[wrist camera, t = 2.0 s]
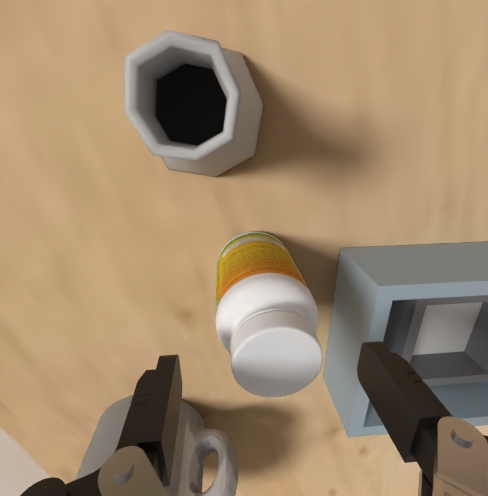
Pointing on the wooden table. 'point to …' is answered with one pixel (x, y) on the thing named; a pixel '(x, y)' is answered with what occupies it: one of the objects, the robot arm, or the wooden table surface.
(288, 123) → the wooden table surface
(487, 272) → the walled box
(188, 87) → the flask
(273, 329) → the supplement bottle
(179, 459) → the coffee mug
